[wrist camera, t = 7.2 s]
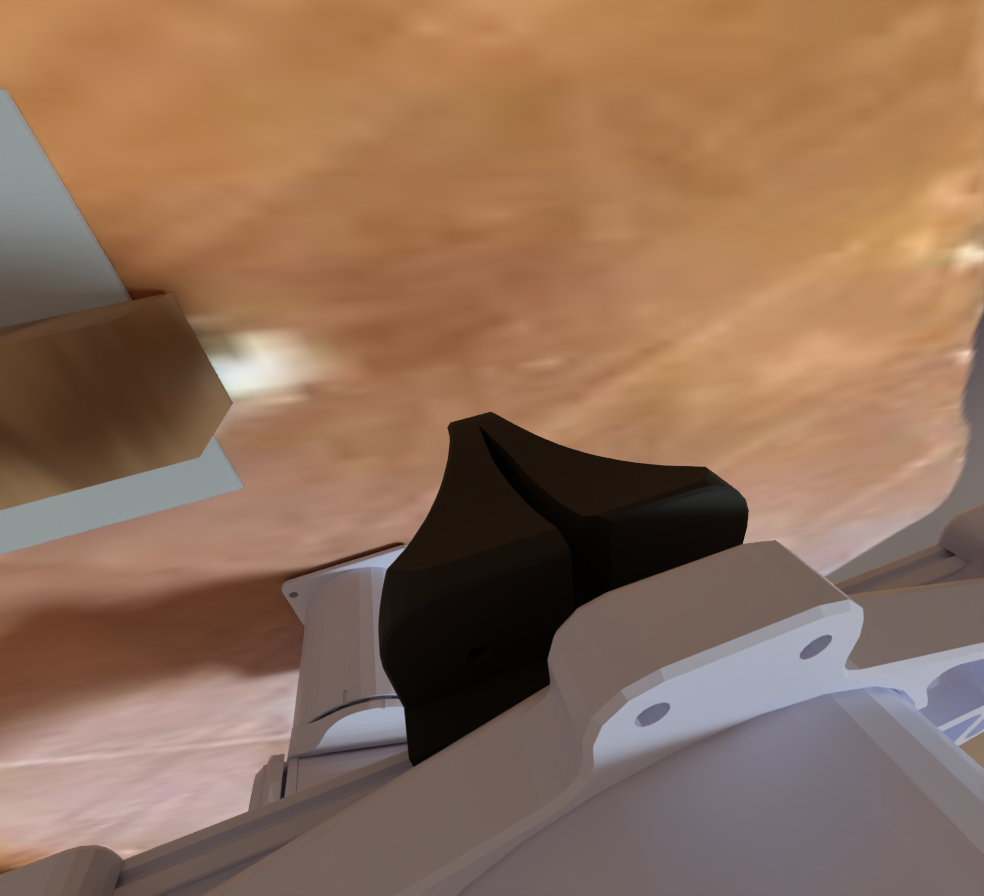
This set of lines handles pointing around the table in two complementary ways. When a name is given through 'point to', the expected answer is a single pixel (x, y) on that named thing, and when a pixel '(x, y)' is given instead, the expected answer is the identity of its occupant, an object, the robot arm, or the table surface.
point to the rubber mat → (62, 290)
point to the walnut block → (102, 398)
